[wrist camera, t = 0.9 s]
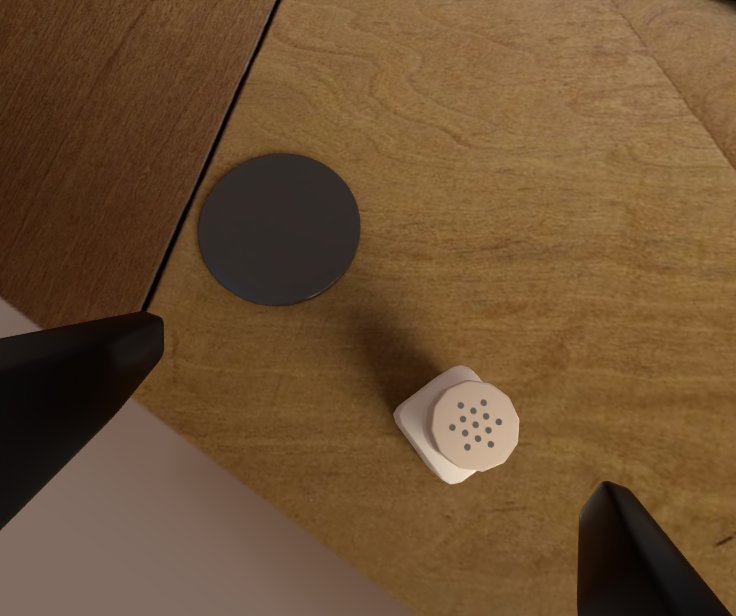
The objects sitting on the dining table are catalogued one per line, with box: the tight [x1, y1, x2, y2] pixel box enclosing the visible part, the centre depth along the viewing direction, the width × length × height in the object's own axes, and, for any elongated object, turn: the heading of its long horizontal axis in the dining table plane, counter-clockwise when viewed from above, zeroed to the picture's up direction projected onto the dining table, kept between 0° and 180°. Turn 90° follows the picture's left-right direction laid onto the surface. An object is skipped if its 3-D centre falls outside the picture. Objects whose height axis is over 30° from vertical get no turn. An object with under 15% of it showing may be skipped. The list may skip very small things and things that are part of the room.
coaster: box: [198, 154, 360, 306], centre depth 28 cm, size 10×10×1 cm
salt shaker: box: [393, 365, 519, 484], centre depth 21 cm, size 4×4×10 cm
